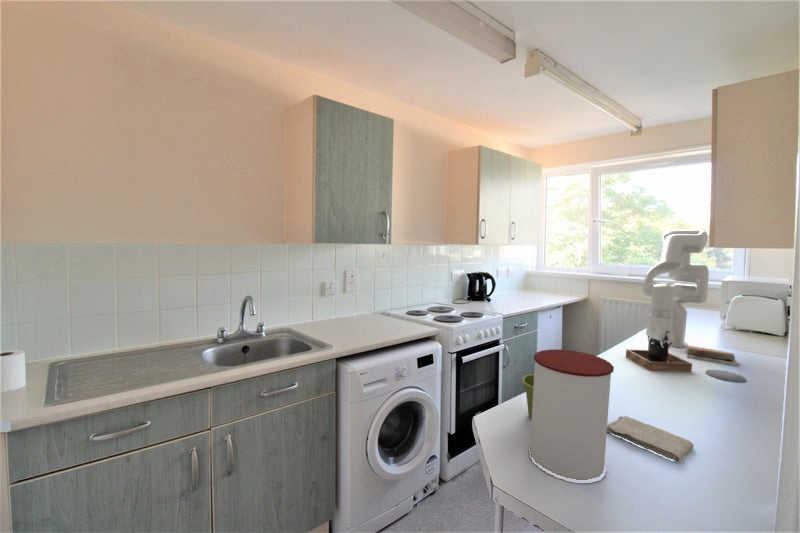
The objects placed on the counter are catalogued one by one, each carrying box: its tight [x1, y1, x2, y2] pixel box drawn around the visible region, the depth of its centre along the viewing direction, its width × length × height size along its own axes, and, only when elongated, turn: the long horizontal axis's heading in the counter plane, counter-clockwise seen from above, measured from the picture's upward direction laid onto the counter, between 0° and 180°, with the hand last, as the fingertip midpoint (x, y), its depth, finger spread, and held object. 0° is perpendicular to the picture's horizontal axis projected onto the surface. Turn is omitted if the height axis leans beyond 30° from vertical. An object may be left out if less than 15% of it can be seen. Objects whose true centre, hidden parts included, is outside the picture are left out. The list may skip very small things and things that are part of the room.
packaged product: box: [685, 345, 739, 367], centre depth 169 cm, size 18×5×10 cm
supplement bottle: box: [647, 338, 668, 362], centre depth 160 cm, size 7×7×12 cm
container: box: [529, 349, 615, 480], centre depth 89 cm, size 17×17×25 cm
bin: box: [625, 348, 693, 373], centre depth 161 cm, size 17×17×4 cm
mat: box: [705, 369, 746, 383], centre depth 148 cm, size 12×12×1 cm
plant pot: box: [521, 373, 534, 419], centre depth 110 cm, size 12×12×11 cm
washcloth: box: [607, 415, 694, 463], centre depth 100 cm, size 12×18×3 cm, turn 37°
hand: (657, 353), depth 160 cm, fingers closed on supplement bottle, 6 cm apart
